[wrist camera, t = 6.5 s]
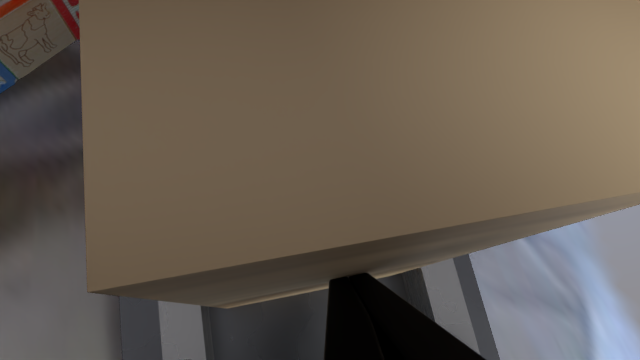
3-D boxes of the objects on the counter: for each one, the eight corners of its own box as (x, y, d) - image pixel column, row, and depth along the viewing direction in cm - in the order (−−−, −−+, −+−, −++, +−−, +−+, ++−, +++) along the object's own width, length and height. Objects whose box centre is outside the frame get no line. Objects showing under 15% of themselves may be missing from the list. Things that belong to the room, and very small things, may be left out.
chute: (551, 606, 14) (639, 695, 11) (160, 760, 12) (119, 937, 8) (395, 63, 20) (421, 14, 17) (120, 89, 18) (87, 38, 14)
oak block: (388, 276, 15) (753, 171, 4) (227, 308, 14) (86, 292, 3) (354, 132, 17) (539, -231, 6) (207, 150, 16) (71, -256, 4)
